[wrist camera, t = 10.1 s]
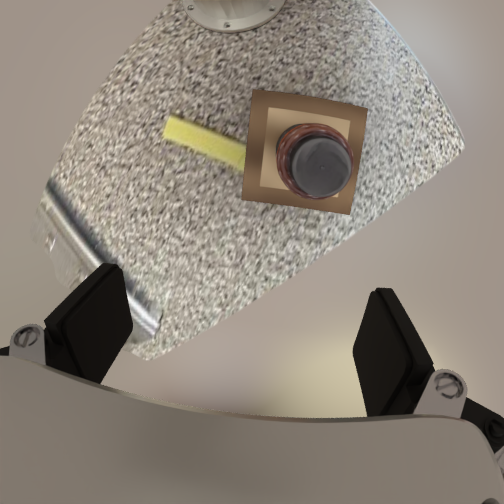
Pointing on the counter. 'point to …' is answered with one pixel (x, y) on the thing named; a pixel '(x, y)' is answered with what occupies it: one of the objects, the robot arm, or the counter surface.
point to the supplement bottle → (314, 160)
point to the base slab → (270, 129)
